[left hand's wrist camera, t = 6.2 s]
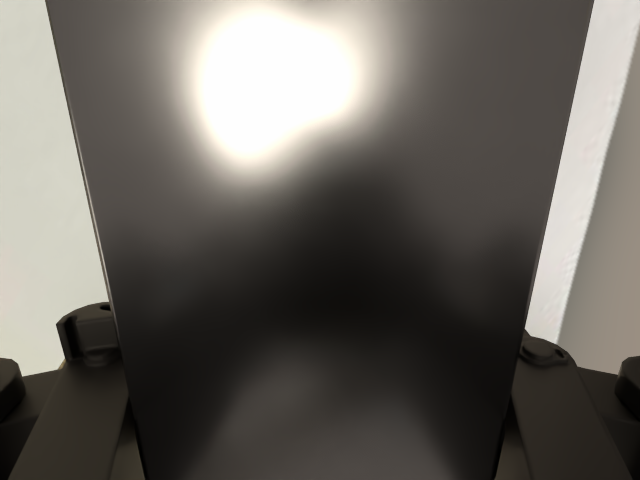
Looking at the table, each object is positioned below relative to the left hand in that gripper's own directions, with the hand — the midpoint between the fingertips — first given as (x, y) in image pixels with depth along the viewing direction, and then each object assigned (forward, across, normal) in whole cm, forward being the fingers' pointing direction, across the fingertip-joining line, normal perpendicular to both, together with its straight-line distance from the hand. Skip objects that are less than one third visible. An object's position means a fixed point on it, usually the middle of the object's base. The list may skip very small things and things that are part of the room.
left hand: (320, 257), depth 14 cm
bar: (+1, 0, -9) cm, 9 cm away
